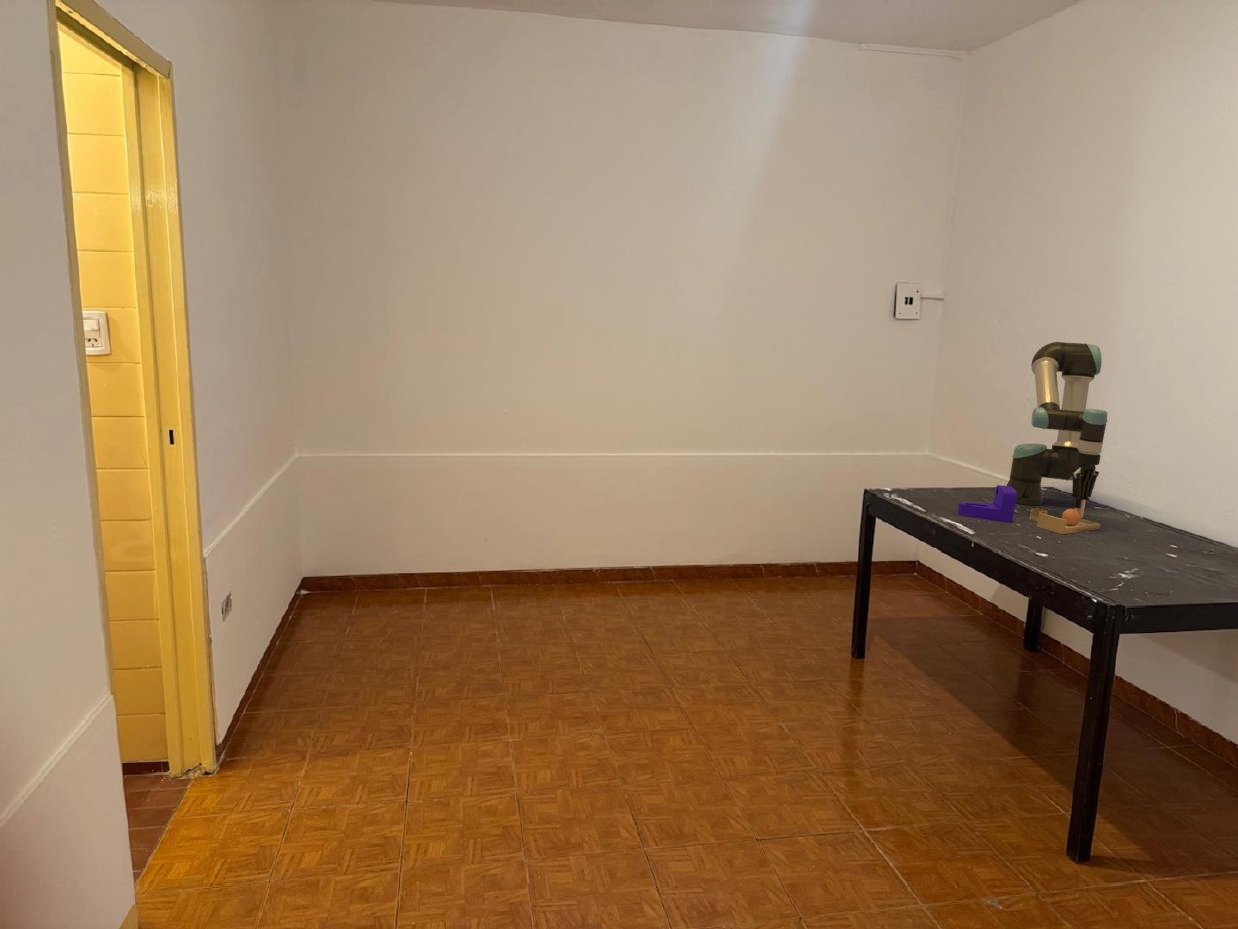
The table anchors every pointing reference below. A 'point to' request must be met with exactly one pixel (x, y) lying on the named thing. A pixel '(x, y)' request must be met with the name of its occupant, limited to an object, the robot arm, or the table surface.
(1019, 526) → the table surface
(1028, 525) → the table surface
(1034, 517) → the open wooden box
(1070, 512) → the ball
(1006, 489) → the bracket
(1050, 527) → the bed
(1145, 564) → the table surface
